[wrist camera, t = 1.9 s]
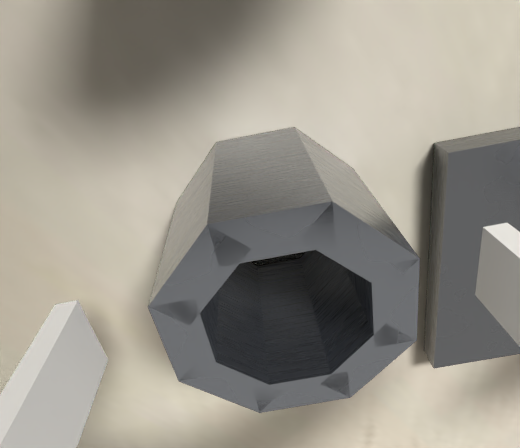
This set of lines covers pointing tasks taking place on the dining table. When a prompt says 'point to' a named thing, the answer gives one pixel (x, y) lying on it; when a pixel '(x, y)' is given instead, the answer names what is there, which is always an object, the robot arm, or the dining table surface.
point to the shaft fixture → (468, 243)
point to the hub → (282, 277)
